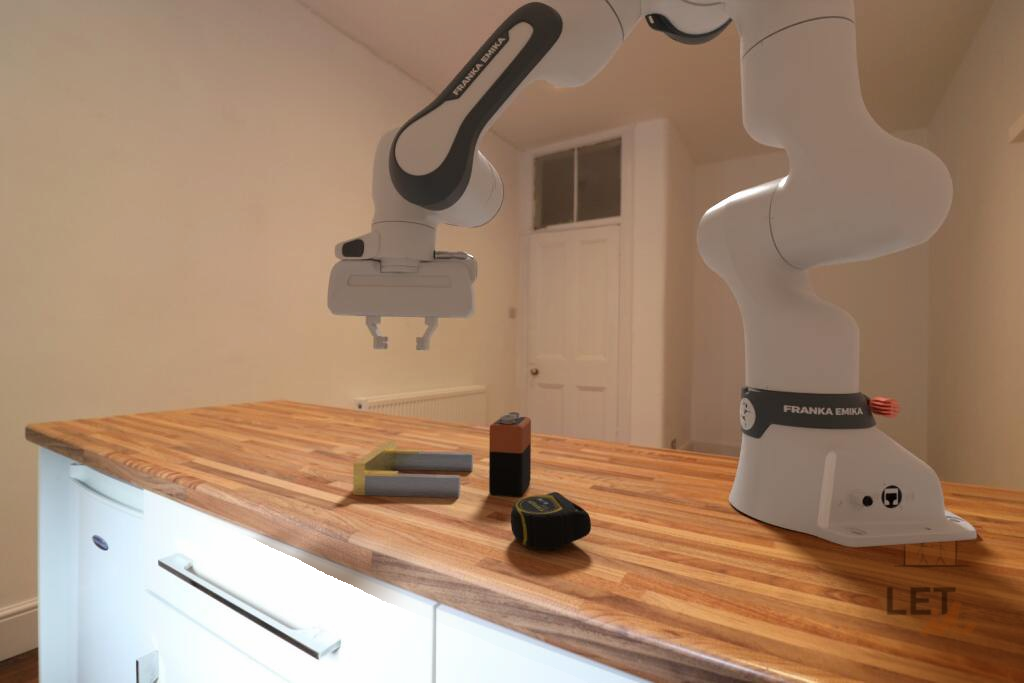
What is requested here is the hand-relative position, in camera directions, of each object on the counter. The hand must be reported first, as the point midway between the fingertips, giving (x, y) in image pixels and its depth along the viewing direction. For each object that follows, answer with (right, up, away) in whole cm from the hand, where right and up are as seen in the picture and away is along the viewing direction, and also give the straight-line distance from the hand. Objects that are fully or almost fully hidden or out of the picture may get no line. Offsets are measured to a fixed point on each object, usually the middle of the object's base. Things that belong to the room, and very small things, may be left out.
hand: (401, 349), depth 62 cm
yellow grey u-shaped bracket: (+3, -18, 0) cm, 19 cm away
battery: (+15, -19, -3) cm, 24 cm away
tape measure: (+22, -18, -19) cm, 35 cm away
